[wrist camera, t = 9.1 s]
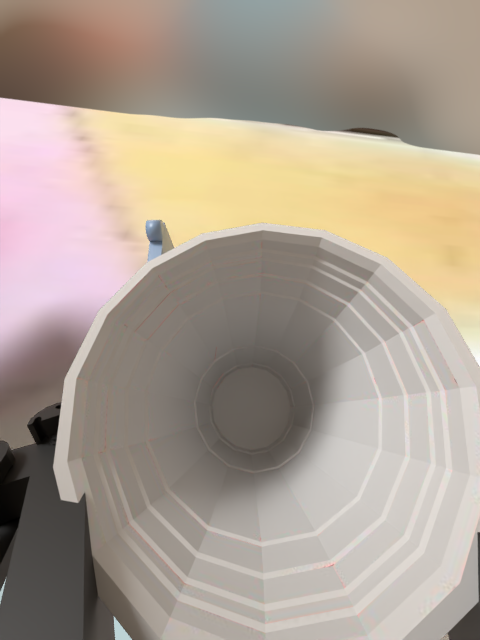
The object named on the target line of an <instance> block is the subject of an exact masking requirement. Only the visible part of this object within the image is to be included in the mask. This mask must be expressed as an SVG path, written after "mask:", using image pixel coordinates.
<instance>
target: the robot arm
mask: <svg viewBox="0 0 480 640" xmlns="http://www.w3.org/2000/svg"><path fill="white" fill-rule="evenodd" d="M61 403H62V402H61ZM61 403H57V404H54V405H51V406H49V407H47V408H45V409H43V410H42V411H40V412H38V413H37V414H36V415H35V416H34V417H33V418H31V420H30V421H29V423H28V425H27V426H28V428H29V430H30V432H31V434H32V436H33V438H34V440H35V442H36V443H35V444H32V445H28V446H25V447H21V448H17V449H14V450H11V449H10V447H9V445H8V443H7V442H4V441H0V590H1V588H2V586H3V584H4V581H5V579H6V582H5V587H4V591H3V596H2V600H1V604H0V640H115V634H114V617H113V614H112V613H111V611H110V610H109V609H108V608H107V606H106V605H105V604H104V602H103V601H102V600H101V599H100V597H99V596H98V591H97V585H96V578H95V571H94V564H93V558H92V549H91V541H90V532H89V523H88V514H87V505H86V496H85V493H84V494H83V496H82V497H81V499H80V501H79V502H78V503H76V502H70V501H64V500H61V498H60V494H59V490H58V486H57V482H56V477H55V473H54V469H53V464H54V457H55V449H56V441H57V433H58V426H59V418H60V410H61ZM477 535H478V591H479V601H478V603H477V604H476V605H475V606H474V607H473V608H472V609H471V610H470V611H469V612H468V613H467V614H466V615H465V616H464V617H463V618H462V619H461V620H460V621H459V622H458V623H457V624H456V625H455V626H454V627H453V628H452V629H451V630H450V631H449V632H448V635H449V640H480V532H477ZM6 577H7V578H6Z"/></svg>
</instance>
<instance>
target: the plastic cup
mask: <svg viewBox="0 0 480 640" xmlns="http://www.w3.org/2000/svg"><path fill="white" fill-rule="evenodd" d="M53 469H54V473H55V477H56V482H57V486H58V490H59V494H60V498H61V500H64V501H70V502H76V503H78V502H79V501H80V499H81V497H82V496H83V494H84V493H85V496H86V505H87V514H88V523H89V532H90V541H91V549H92V558H93V564H94V571H95V578H96V585H97V591H98V596H99V597H100V599H101V600H102V601H103V602H104V604H105V605H106V606H107V608H108V609H109V610H110V611H111V613H112V614H113V615H114V617H115V618H116V619H117V620H118V622H119V623H120V624H121V626H122V627H123V628H124V629H125V631H126V632H127V633H128V635H130V637H131V638H132V640H441V639H442V638H443V637H444V636H445V635H446V634H447V633H448V632H449V631H450V630H451V629H452V628H453V627H454V626H455V625H456V624H457V623H458V622H459V621H460V620H461V619H462V618H463V617H464V616H465V615H466V614H467V613H468V612H469V611H470V610H471V609H472V608H473V607H474V606H475V605H476V604H477V603H478V601H479V591H478V535H477V532H480V367H479V365H478V363H477V362H476V360H475V358H474V356H473V355H472V353H471V351H470V350H469V348H468V346H467V344H466V343H465V341H464V339H463V338H462V336H461V334H460V332H459V331H458V329H457V327H456V325H455V324H454V322H453V320H452V319H451V317H450V315H449V313H448V312H447V310H446V309H445V308H444V307H443V306H442V305H441V304H440V303H438V302H437V301H436V300H435V299H434V298H433V297H432V296H430V295H429V294H428V293H427V292H426V291H425V290H424V289H423V288H421V287H420V286H419V285H418V284H417V283H416V282H415V281H413V280H412V279H411V278H410V277H409V276H408V275H407V274H405V273H404V272H403V271H402V270H401V269H400V268H399V267H397V266H396V265H395V264H394V263H393V262H392V261H391V260H389V259H388V258H387V257H384V256H382V255H380V254H378V253H375V252H373V251H371V250H369V249H366V248H364V247H362V246H359V245H357V244H355V243H353V242H350V241H348V240H346V239H344V238H341V237H339V236H337V235H335V234H332V233H330V232H328V231H326V230H318V229H310V228H302V227H293V226H285V225H276V224H268V223H259V224H253V225H248V226H242V227H237V228H231V229H225V230H220V231H214V232H209V233H203V234H201V235H199V236H197V237H195V238H193V239H191V240H189V241H187V242H185V243H183V244H181V245H179V246H178V247H176V248H174V249H172V250H170V251H168V252H166V253H164V254H162V255H160V256H158V257H156V258H154V259H153V260H151V261H149V262H147V263H146V264H145V265H144V266H143V267H142V268H141V269H140V270H139V271H138V272H137V273H136V274H135V275H134V276H133V277H132V278H131V279H130V280H129V281H128V282H127V283H126V284H125V285H124V286H123V287H122V288H121V289H120V290H119V291H118V292H117V293H116V294H115V295H114V296H113V297H112V298H111V299H110V300H109V301H108V302H107V303H106V304H105V305H104V306H103V307H102V308H101V309H100V310H99V311H98V313H97V315H96V317H95V319H94V321H93V323H92V325H91V327H90V329H89V331H88V333H87V335H86V337H85V339H84V341H83V343H82V345H81V347H80V349H79V351H78V353H77V355H76V357H75V359H74V361H73V363H72V365H71V367H70V369H69V371H68V373H67V375H66V377H65V379H64V387H63V395H62V403H61V410H60V418H59V426H58V433H57V441H56V449H55V457H54V464H53Z"/></svg>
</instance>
